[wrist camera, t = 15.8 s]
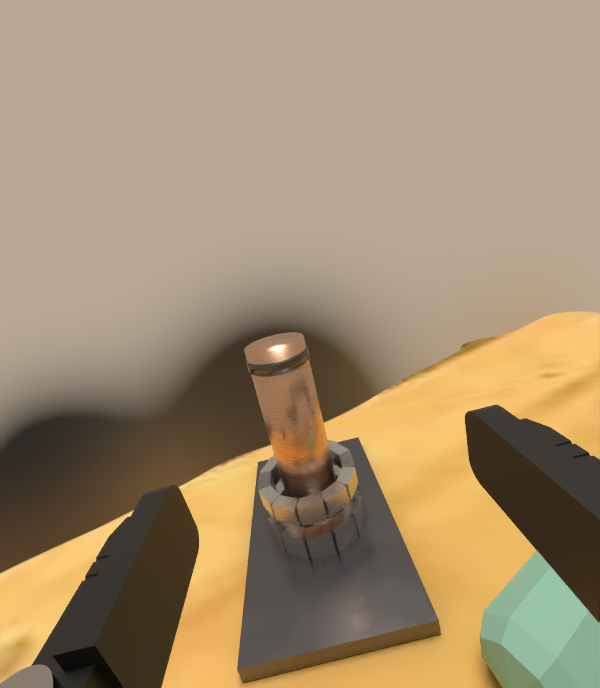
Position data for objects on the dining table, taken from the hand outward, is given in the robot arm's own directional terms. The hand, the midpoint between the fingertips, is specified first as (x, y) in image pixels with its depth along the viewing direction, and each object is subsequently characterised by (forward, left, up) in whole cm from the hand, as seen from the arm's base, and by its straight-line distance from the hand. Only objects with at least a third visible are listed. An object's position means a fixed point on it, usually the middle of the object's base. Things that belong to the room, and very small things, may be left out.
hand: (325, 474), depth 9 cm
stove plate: (+2, -15, -17) cm, 23 cm away
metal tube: (+2, -15, -16) cm, 22 cm away
